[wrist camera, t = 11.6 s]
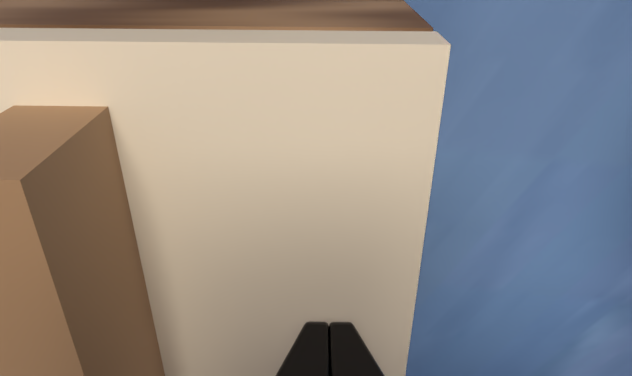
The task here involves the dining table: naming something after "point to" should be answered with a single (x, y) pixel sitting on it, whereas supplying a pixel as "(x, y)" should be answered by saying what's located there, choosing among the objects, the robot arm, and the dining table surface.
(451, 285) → the dining table surface
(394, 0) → the wooden box
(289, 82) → the lid
